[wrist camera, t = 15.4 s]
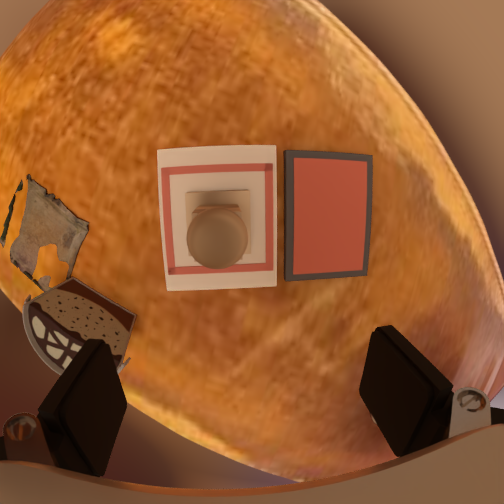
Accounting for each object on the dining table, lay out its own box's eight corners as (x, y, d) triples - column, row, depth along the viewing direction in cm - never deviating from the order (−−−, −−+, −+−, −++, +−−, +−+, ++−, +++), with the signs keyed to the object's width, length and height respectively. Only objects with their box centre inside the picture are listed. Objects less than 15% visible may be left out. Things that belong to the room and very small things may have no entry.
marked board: (274, 146, 29) (276, 144, 28) (275, 282, 33) (276, 286, 32) (159, 150, 28) (156, 149, 27) (168, 287, 32) (166, 291, 31)
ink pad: (368, 155, 30) (373, 155, 29) (363, 272, 34) (367, 275, 33) (283, 150, 29) (286, 150, 28) (283, 278, 33) (286, 281, 32)
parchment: (26, 169, 27) (21, 169, 26) (96, 225, 29) (93, 226, 29) (-2, 248, 28) (-6, 250, 27) (60, 304, 31) (57, 307, 30)
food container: (53, 308, 31) (13, 345, 21) (63, 270, 30) (19, 302, 20) (130, 355, 34) (109, 406, 24) (147, 320, 33) (125, 370, 23)
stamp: (247, 189, 29) (262, 197, 18) (248, 247, 30) (263, 286, 20) (188, 191, 28) (167, 200, 18) (191, 249, 30) (174, 290, 19)
